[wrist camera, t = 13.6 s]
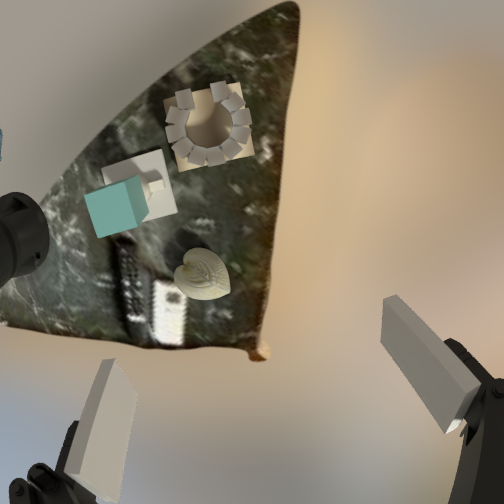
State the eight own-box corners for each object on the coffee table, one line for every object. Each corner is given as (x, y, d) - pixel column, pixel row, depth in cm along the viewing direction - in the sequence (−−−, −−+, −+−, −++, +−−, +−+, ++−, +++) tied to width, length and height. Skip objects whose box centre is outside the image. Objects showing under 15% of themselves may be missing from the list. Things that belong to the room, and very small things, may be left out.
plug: (127, 210, 42) (97, 238, 30) (118, 178, 40) (84, 195, 28) (169, 199, 42) (152, 222, 31) (160, 165, 40) (139, 176, 29)
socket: (180, 170, 42) (176, 175, 37) (165, 101, 38) (158, 96, 32) (252, 154, 42) (258, 155, 37) (238, 84, 38) (242, 76, 33)
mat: (119, 227, 44) (118, 228, 43) (102, 168, 40) (101, 168, 39) (177, 211, 44) (177, 212, 43) (161, 148, 40) (161, 148, 40)
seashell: (190, 234, 43) (234, 262, 42) (205, 249, 52) (242, 273, 50) (160, 280, 42) (203, 310, 40) (179, 288, 50) (216, 313, 48)
